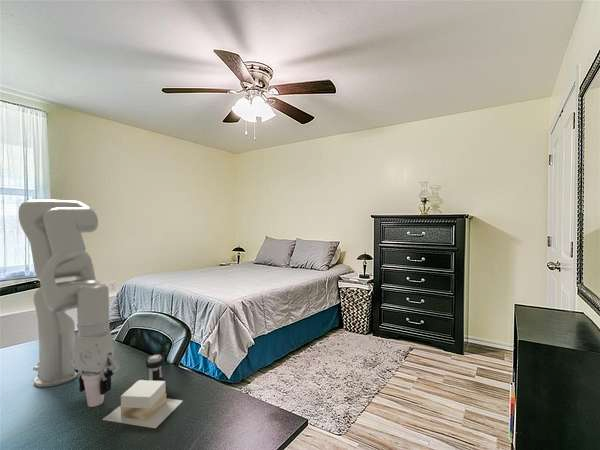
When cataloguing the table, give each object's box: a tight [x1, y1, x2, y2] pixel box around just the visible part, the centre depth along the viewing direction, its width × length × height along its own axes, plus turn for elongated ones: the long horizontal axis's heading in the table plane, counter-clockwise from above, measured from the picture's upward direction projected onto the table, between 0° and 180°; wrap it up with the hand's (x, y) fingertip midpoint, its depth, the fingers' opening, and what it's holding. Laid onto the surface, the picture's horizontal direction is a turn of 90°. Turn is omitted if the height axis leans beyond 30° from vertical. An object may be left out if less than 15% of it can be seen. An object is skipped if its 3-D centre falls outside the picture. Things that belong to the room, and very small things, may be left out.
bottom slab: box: [121, 391, 167, 421], centre depth 86 cm, size 8×8×3 cm
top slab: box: [120, 379, 167, 408], centre depth 86 cm, size 8×8×3 cm
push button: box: [144, 354, 166, 382], centre depth 97 cm, size 7×5×10 cm
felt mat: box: [101, 397, 183, 429], centre depth 86 cm, size 16×12×1 cm
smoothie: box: [82, 370, 107, 408], centre depth 89 cm, size 6×6×14 cm
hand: (95, 390), depth 90 cm, fingers closed on smoothie, 6 cm apart
